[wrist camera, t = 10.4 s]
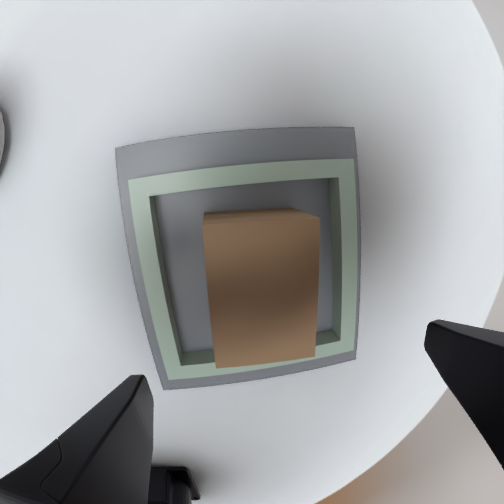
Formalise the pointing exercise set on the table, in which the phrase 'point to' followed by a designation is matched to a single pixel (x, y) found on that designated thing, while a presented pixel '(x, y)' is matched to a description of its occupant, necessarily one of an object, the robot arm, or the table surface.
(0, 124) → the can
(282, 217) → the brown rectangular block
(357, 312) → the grey tray
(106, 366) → the table surface
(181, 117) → the table surface
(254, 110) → the table surface
